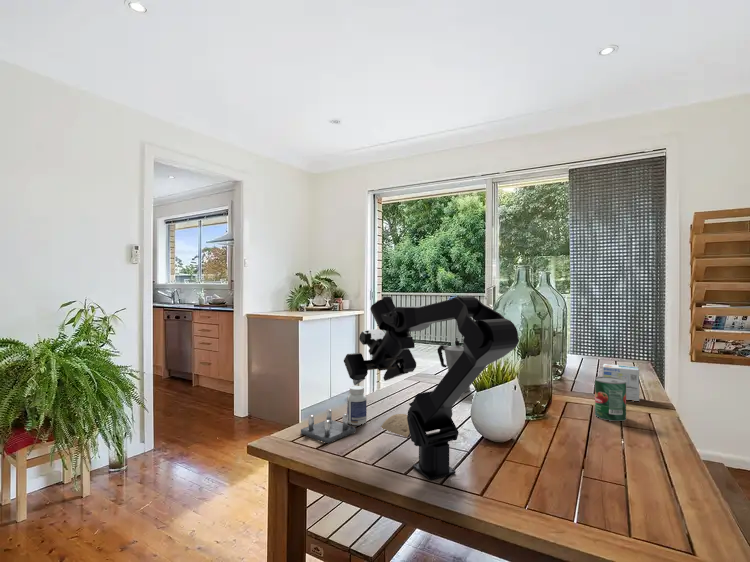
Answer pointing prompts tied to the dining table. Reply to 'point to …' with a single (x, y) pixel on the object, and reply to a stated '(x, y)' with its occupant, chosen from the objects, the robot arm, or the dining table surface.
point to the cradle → (328, 428)
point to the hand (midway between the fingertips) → (369, 381)
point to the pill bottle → (356, 406)
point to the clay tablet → (397, 424)
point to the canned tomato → (610, 398)
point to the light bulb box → (625, 378)
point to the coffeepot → (450, 355)
